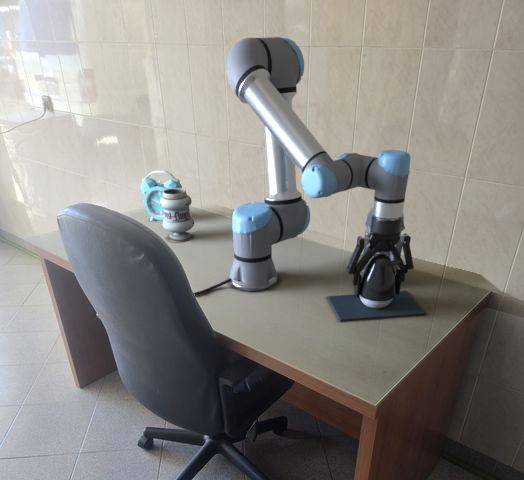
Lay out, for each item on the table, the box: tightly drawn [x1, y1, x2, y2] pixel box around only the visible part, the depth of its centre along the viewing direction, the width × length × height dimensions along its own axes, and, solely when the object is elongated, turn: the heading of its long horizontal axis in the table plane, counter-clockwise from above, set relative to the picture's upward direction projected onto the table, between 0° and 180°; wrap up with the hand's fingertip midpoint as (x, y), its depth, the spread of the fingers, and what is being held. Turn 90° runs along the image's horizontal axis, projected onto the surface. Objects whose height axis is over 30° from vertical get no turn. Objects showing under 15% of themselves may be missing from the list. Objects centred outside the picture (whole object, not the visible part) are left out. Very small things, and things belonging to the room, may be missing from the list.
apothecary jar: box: [160, 187, 195, 243], centre depth 178 cm, size 12×12×18 cm
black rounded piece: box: [360, 253, 401, 308], centre depth 129 cm, size 10×10×15 cm
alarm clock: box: [140, 169, 183, 222], centre depth 196 cm, size 17×10×20 cm, turn 81°
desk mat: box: [327, 290, 426, 322], centre depth 133 cm, size 24×14×1 cm, turn 97°
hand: (376, 293), depth 131 cm, fingers open, 11 cm apart
